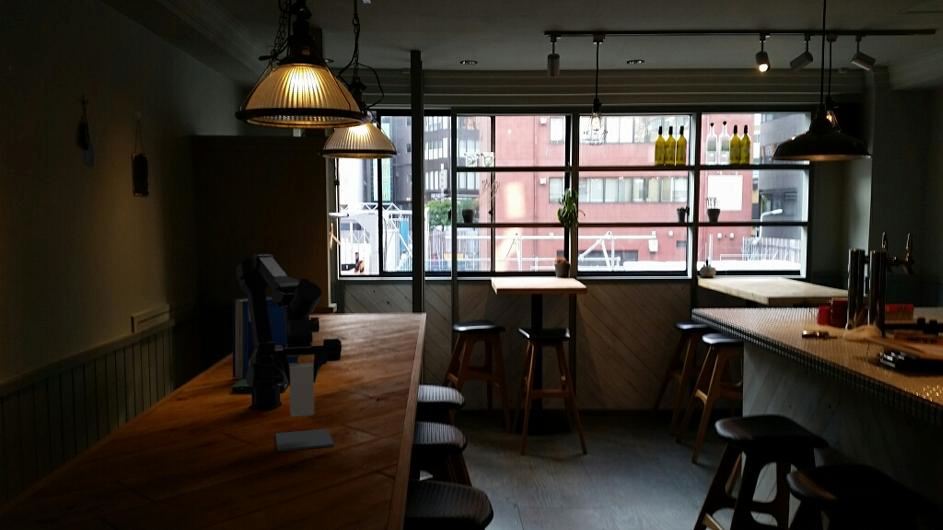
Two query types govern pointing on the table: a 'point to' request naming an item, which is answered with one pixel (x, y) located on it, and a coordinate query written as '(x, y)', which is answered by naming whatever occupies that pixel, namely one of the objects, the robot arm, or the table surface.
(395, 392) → the table surface
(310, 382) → the blank
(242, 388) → the disk drive
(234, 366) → the book
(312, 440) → the mat
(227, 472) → the table surface
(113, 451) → the table surface
